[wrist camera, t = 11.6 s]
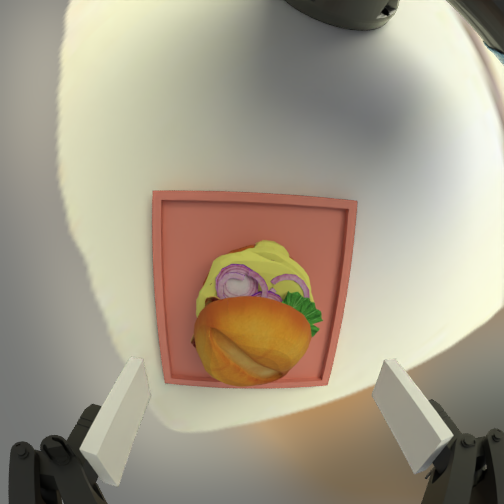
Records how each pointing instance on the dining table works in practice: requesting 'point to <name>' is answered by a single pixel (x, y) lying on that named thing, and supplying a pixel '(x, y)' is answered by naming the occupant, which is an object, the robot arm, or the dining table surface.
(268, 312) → the cheeseburger
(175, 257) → the tray
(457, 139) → the dining table surface
